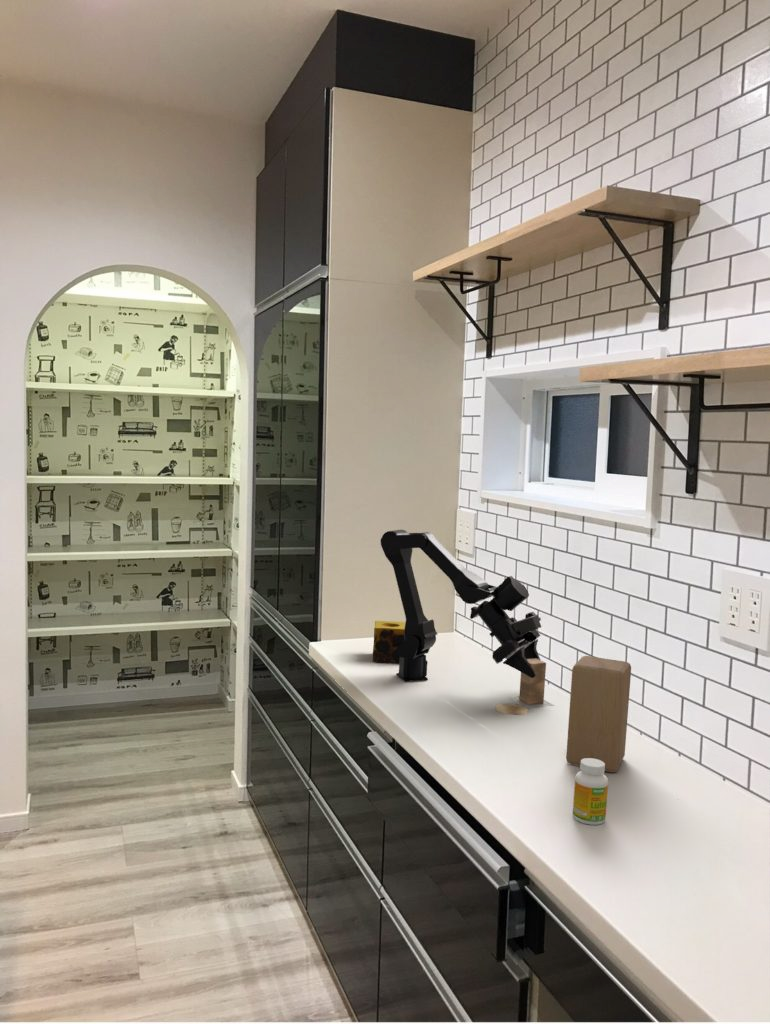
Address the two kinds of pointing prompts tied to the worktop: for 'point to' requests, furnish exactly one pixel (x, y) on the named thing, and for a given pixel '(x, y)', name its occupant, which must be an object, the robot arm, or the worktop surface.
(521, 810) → the worktop surface
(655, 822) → the worktop surface
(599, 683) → the block
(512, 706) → the cork coaster
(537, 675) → the walnut block
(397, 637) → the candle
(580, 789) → the supplement bottle
